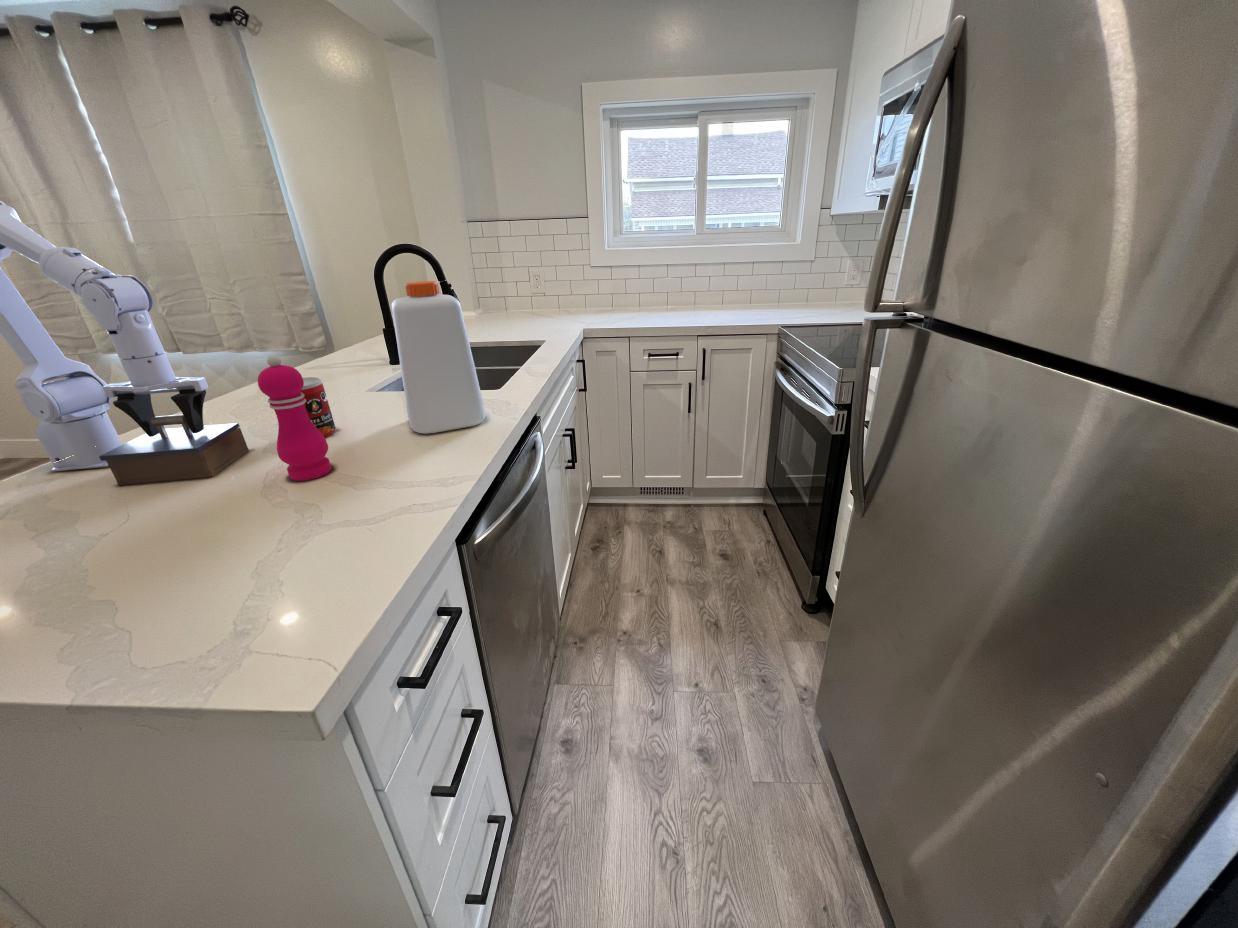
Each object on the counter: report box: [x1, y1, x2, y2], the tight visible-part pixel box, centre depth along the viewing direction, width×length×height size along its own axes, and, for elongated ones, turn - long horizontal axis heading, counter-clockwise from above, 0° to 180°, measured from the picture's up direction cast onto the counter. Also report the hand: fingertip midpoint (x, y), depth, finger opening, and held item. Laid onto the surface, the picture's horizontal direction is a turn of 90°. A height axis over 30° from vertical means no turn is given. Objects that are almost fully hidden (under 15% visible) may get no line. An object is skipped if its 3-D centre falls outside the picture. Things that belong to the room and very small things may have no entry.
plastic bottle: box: [391, 280, 487, 435], centre depth 101 cm, size 15×15×28 cm
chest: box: [106, 427, 250, 486], centre depth 88 cm, size 12×15×5 cm
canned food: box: [301, 376, 336, 439], centre depth 99 cm, size 8×8×11 cm
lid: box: [99, 414, 241, 461], centre depth 86 cm, size 12×15×5 cm
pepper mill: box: [257, 355, 332, 482], centre depth 80 cm, size 7×7×20 cm
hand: (177, 433), depth 87 cm, fingers open, 6 cm apart
